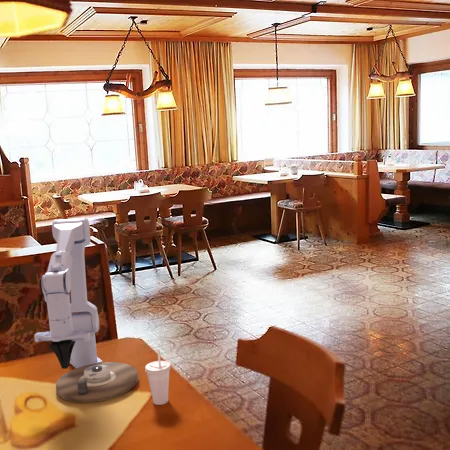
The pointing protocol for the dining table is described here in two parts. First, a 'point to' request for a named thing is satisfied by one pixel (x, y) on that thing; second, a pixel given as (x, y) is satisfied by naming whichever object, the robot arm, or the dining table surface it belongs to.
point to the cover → (97, 374)
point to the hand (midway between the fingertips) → (65, 367)
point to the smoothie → (158, 380)
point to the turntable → (87, 392)
